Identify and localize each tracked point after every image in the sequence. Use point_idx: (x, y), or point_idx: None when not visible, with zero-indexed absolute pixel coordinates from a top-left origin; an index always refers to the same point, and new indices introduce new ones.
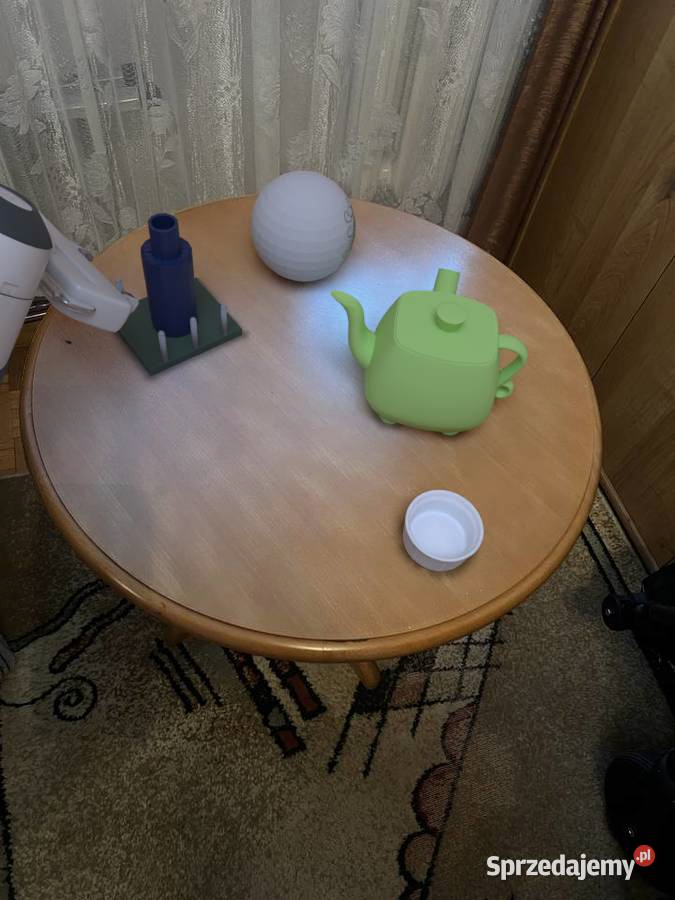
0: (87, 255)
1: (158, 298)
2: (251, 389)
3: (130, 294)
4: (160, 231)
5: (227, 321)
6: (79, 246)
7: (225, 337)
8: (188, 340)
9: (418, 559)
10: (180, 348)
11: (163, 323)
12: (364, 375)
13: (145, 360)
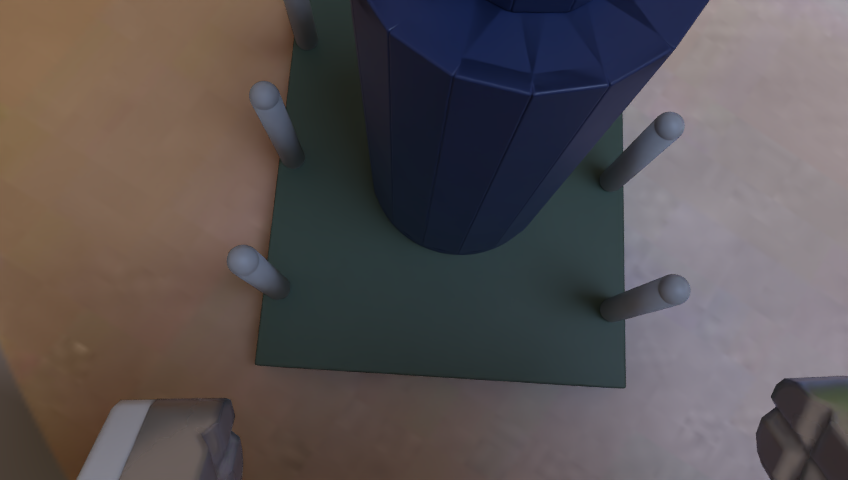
0: (208, 443)
1: (548, 184)
2: (836, 142)
3: (842, 401)
4: None
5: None
6: (91, 470)
7: None
8: (570, 185)
9: None
10: (589, 231)
11: (520, 225)
12: None
13: (574, 374)
